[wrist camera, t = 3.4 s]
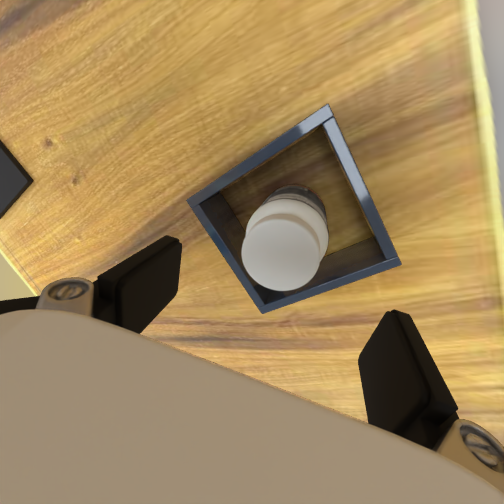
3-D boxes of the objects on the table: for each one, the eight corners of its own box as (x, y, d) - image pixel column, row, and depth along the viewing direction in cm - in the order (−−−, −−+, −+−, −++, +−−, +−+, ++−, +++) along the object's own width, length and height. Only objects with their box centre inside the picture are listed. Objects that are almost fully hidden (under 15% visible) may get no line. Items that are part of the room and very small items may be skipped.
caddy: (210, 189, 24) (185, 200, 20) (325, 111, 19) (328, 102, 15) (271, 286, 27) (261, 314, 22) (385, 240, 22) (402, 265, 18)
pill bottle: (298, 252, 24) (287, 315, 16) (253, 218, 24) (215, 262, 15) (339, 208, 22) (353, 254, 13) (288, 169, 22) (268, 189, 13)
